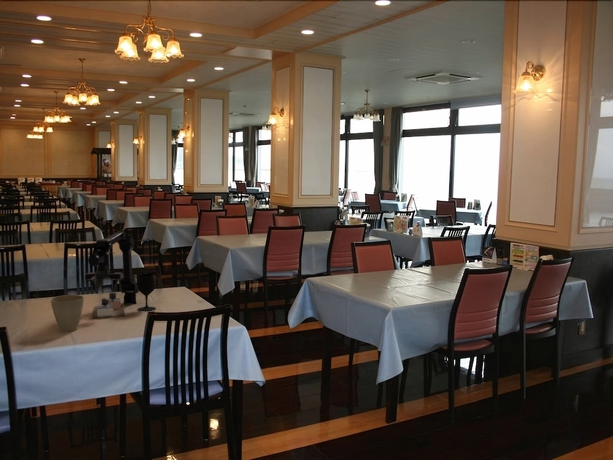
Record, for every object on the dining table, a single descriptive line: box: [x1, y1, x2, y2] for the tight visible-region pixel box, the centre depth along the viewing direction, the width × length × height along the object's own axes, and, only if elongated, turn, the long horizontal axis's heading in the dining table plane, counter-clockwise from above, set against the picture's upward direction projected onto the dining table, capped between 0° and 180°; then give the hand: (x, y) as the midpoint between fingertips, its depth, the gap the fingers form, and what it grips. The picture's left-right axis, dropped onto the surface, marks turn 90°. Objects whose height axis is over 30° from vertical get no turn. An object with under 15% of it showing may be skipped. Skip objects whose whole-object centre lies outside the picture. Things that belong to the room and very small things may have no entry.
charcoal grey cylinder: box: [108, 292, 117, 301], centre depth 317 cm, size 4×4×8 cm
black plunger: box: [101, 297, 109, 307], centre depth 302 cm, size 4×4×8 cm
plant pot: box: [50, 294, 85, 333], centre depth 273 cm, size 15×15×16 cm
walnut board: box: [92, 304, 126, 320], centre depth 310 cm, size 16×26×1 cm, turn 20°
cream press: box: [96, 304, 113, 317], centre depth 302 cm, size 8×8×4 cm
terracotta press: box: [108, 297, 121, 309], centre depth 317 cm, size 8×8×4 cm
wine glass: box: [136, 272, 157, 313], centre depth 316 cm, size 10×10×20 cm
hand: (104, 291), depth 302 cm, fingers open, 9 cm apart
